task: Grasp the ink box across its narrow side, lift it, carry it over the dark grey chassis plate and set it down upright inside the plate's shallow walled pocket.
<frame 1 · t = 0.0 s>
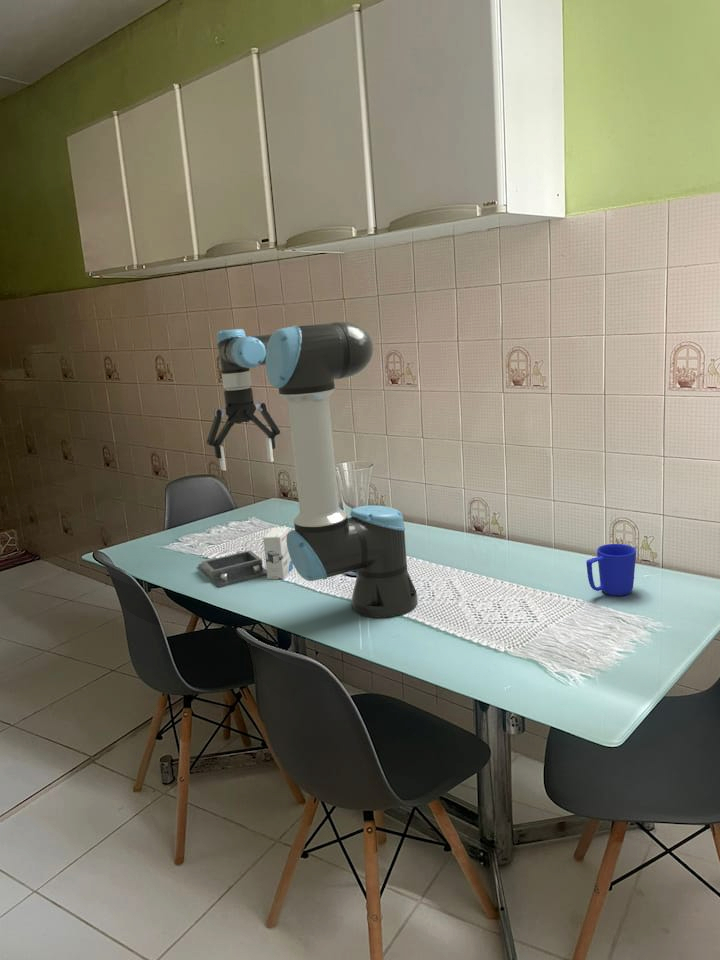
hand: (247, 465, 200), 28 cm above the table, fingers open, 13 cm apart
chassis: (232, 570, 200), on the table
mug: (610, 594, 163), on the table
ink box: (281, 574, 195), on the table
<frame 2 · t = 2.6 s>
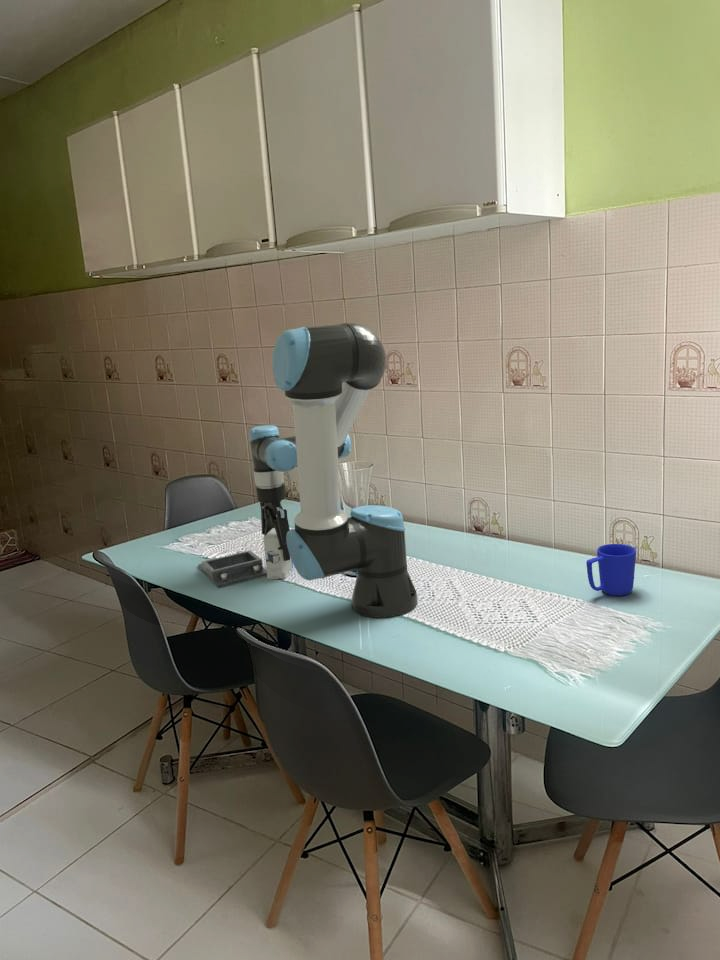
hand: (280, 566, 195), 2 cm above the table, fingers closed on ink box, 9 cm apart
ink box: (281, 574, 195), on the table, touching gripper
everything else where it was.
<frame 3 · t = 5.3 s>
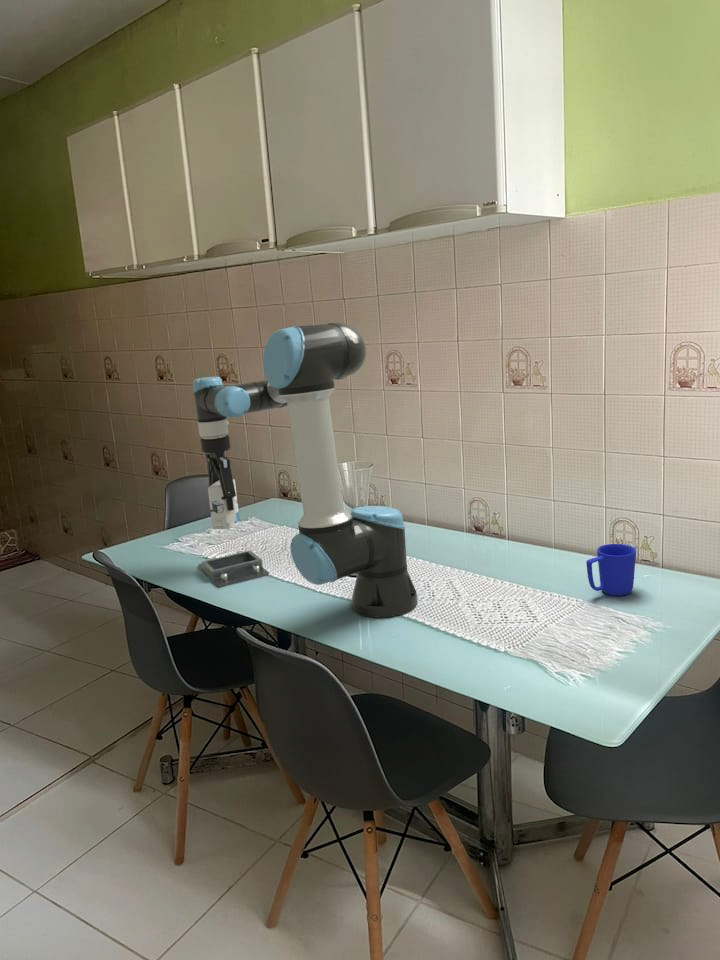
hand: (225, 517, 197), 15 cm above the table, fingers closed on ink box, 9 cm apart
ink box: (227, 525, 197), point 13 cm above the table, touching gripper
everything else where it was.
when the fingers open (5 cm above the table, at t = 7.6 s): ink box stays where it is, resting on chassis.
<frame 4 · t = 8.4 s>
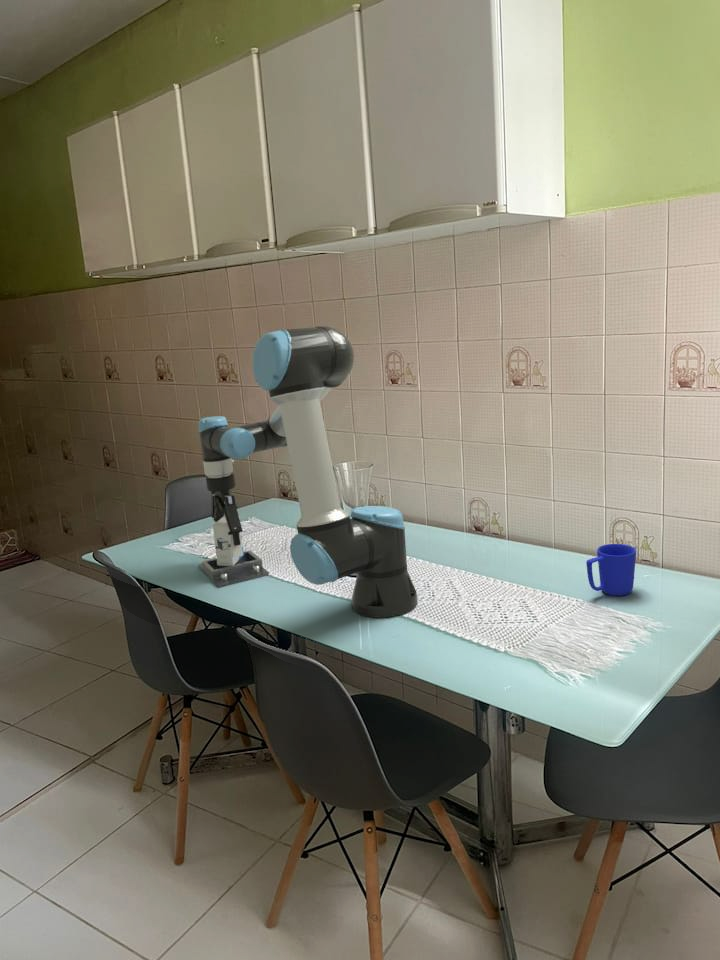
hand: (230, 550, 199), 6 cm above the table, fingers open, 13 cm apart
ink box: (231, 561, 200), point 3 cm above the table, touching chassis
everything else where it was.
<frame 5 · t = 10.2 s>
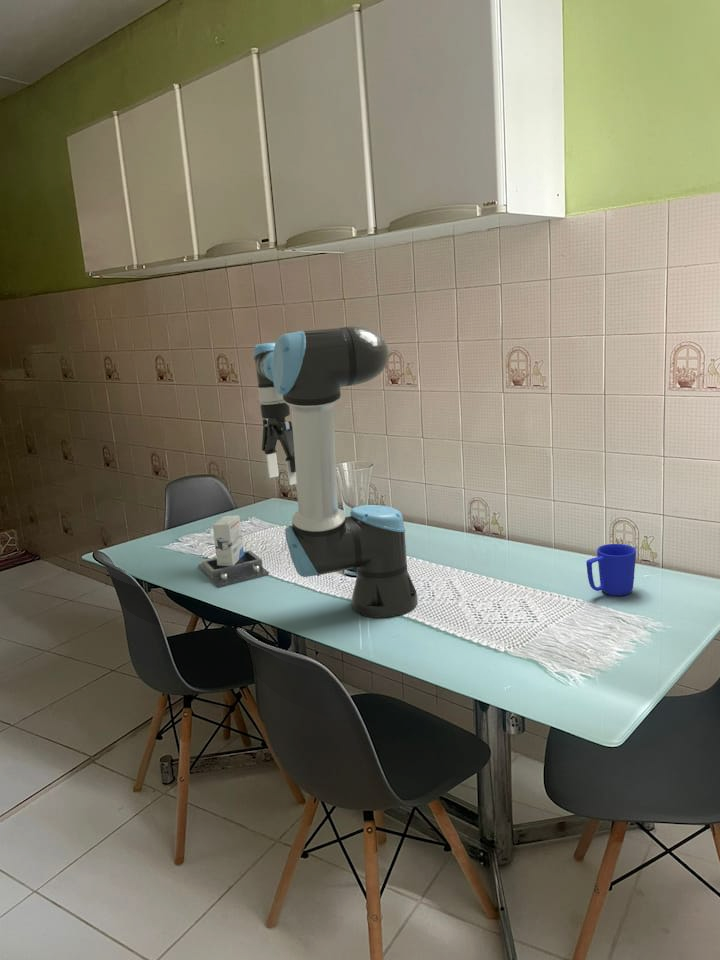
hand: (283, 480, 197), 24 cm above the table, fingers open, 13 cm apart
nothing on the table moved.
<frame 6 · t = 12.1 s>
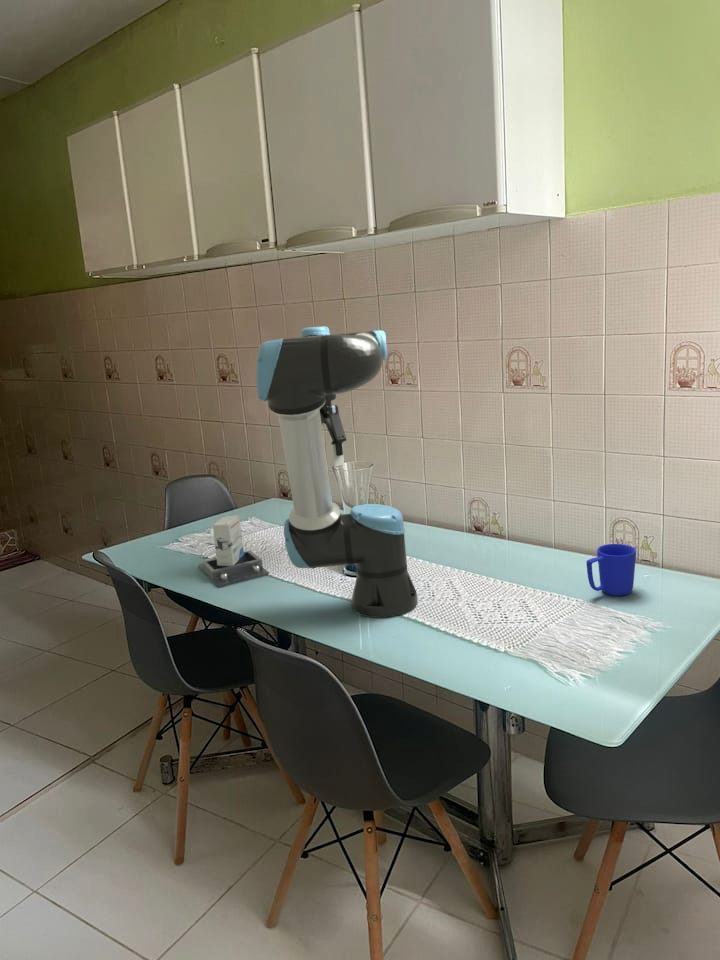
hand: (328, 463, 198), 27 cm above the table, fingers open, 13 cm apart
nothing on the table moved.
at the end: ink box 0.0 cm off-centre on the chassis, point 2.8 cm above the chassis's base; ink box tilted 0°; the gripper is holding nothing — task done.
